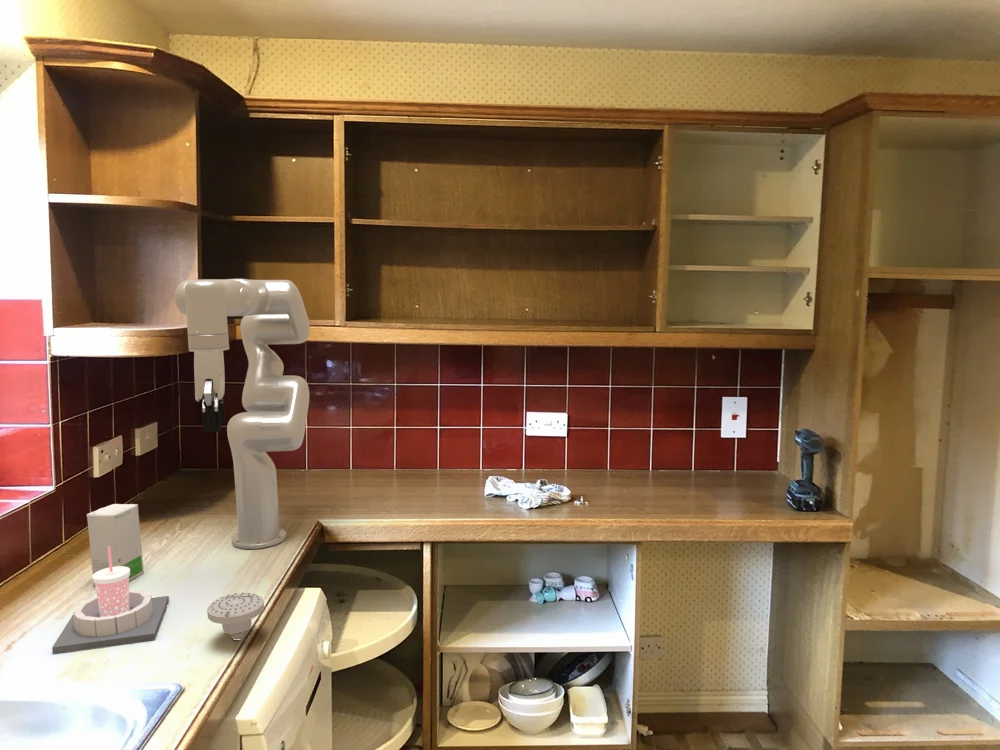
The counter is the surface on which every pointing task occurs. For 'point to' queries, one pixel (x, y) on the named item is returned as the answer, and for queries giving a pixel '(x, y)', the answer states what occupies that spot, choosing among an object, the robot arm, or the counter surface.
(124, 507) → the skincare box
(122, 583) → the beverage cup
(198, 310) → the robot arm
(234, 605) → the showerhead
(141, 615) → the ring holder
